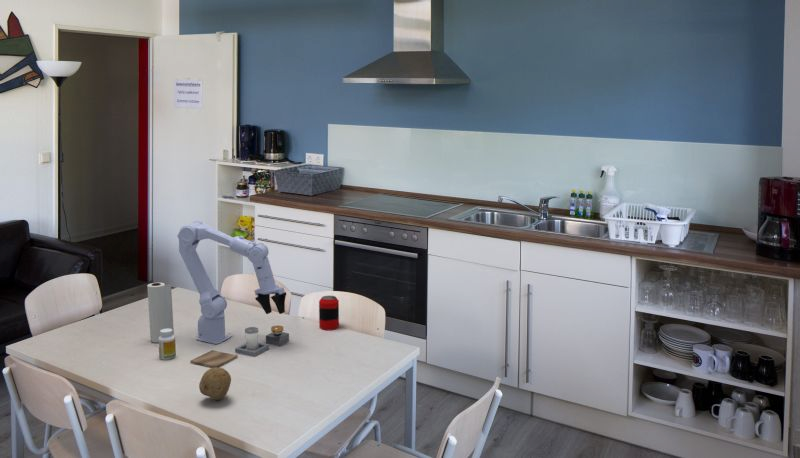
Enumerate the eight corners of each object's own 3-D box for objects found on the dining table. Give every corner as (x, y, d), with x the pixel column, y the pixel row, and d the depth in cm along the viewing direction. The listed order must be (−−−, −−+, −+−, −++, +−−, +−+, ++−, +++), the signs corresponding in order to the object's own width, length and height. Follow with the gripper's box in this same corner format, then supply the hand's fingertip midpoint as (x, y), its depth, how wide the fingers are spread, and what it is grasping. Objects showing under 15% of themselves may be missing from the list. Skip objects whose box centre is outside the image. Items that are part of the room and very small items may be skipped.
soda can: (337, 330, 265) (337, 300, 263) (318, 330, 265) (317, 300, 263) (339, 324, 272) (339, 294, 270) (320, 323, 272) (320, 294, 270)
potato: (202, 408, 198) (200, 376, 196) (197, 396, 206) (196, 364, 204) (234, 403, 202) (232, 371, 200) (228, 391, 210) (227, 360, 208)
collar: (235, 352, 241) (234, 348, 241) (250, 345, 249) (249, 341, 248) (254, 356, 238) (254, 352, 237) (269, 348, 245) (269, 344, 245)
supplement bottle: (179, 355, 238) (177, 328, 236) (169, 361, 233) (167, 333, 231) (166, 353, 240) (164, 326, 238) (156, 358, 235) (154, 331, 233)
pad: (190, 362, 232) (190, 360, 232) (212, 352, 241) (212, 350, 241) (216, 368, 227) (216, 366, 227) (237, 357, 237) (237, 355, 237)
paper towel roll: (147, 341, 251) (143, 285, 247) (158, 336, 256) (155, 281, 252) (162, 344, 248) (159, 287, 244) (174, 339, 254) (171, 283, 249)
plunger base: (265, 343, 250) (265, 335, 250) (275, 338, 256) (275, 330, 255) (279, 346, 248) (279, 338, 247) (289, 341, 253) (288, 333, 253)
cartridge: (242, 351, 242) (242, 330, 241) (251, 347, 246) (250, 326, 245) (253, 354, 240) (252, 332, 239) (261, 349, 244) (260, 328, 243)
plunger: (268, 336, 250) (268, 328, 250) (275, 333, 254) (275, 324, 253) (278, 338, 248) (278, 330, 248) (285, 334, 252) (285, 326, 252)
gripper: (286, 272, 244) (296, 308, 246) (261, 274, 254) (271, 309, 256) (271, 279, 239) (282, 315, 241) (246, 281, 249) (256, 316, 251)
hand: (275, 313), depth 248 cm, fingers open, 7 cm apart
